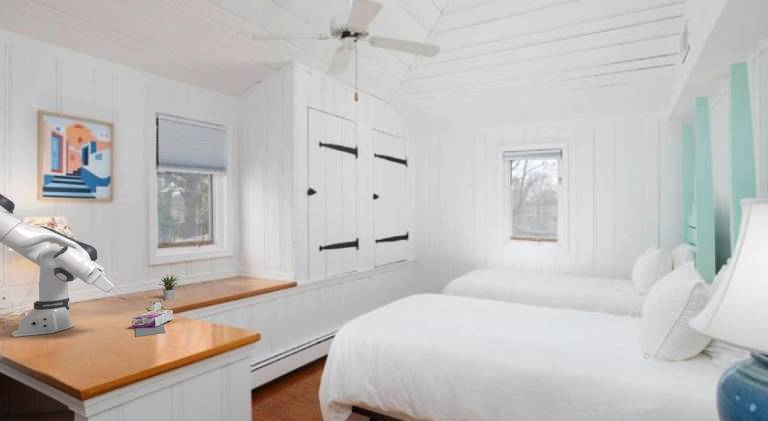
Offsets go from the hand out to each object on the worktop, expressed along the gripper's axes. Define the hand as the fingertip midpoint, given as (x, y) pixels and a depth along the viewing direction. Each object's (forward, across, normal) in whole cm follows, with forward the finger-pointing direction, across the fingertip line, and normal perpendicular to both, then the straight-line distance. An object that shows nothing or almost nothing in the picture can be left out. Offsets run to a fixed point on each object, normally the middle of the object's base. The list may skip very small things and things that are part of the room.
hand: (120, 292), depth 195 cm
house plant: (+34, -79, +4) cm, 86 cm away
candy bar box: (+17, -1, -5) cm, 17 cm away
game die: (+24, -28, -3) cm, 38 cm away
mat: (+20, +2, -6) cm, 21 cm away
